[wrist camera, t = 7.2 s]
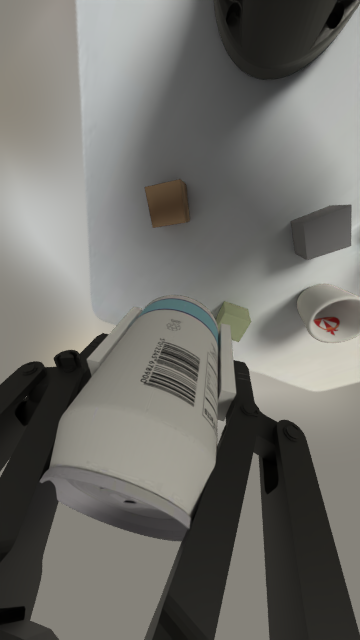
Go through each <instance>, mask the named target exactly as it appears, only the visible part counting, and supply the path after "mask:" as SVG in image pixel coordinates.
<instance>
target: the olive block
mask: <svg viewBox="0 0 360 640" xmlns="http://www.w3.org/2000/svg"><path fill="white" fill-rule="evenodd" d="M216 322H217V325H218V332H219V329H220V325H221V323H222V324H227V325H230V328H231V340H234V341H237V342H239V341H240V339H241V338H242V336H243V334H244V333H245V331H246V330H247V328H248V326H249V325H250V323H251V320H250V316H249V312H248V309H245V308H243V307H240V306H237V305H234V304H231V303H228V302H225V301H224V303H223V305H222V307H221V309H220V311H219V313H218V315H217V318H216Z"/></svg>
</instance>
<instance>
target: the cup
mask: <svg viewBox="0 0 360 640" xmlns="http://www.w3.org/2000/svg"><path fill="white" fill-rule="evenodd" d="M297 310H298V312H299V314H300V316H301V318H302V320H303V322H304V324H305V326H306V328H307V330H308V332H309V333H310V335H311V336H312V337H313V338H315V339H317V340H319V341H322V342H326V343H339V342H344V341H347V340H350V339H353V338H355V337H357V336H358V335H360V296H357V295H354V294H352V293H350V292H347V291H345V290H343V289H340V288H338V287H336V286H333V285H329V284H318V285H314V286H311V287H309V288H307V289H306V290H305V291H303V292H302V293H301V295H300V296H299V298H298V300H297Z"/></svg>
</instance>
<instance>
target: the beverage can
mask: <svg viewBox="0 0 360 640" xmlns="http://www.w3.org/2000/svg"><path fill="white" fill-rule="evenodd" d="M218 338H219V332H218V325H217V322H216V320H215V318H214V316H213V315H212V313H211V312H210V311H209V310H208V309H207V308H206V307H205V306H204V305H202V304H201V303H199V302H198V301H196V300H194V299H191V298H188V297H185V296H179V295H168V296H163V297H160V298H157V299H155V300H153V301H152V302H150V303H149V304H148V305H147V306H146V307H145V309H144V310H143V311H142V312H141V314H140V315H139V316H138V318H137V319H136V320H135V322H134V323H133V324H132V325H131V327H130V328H129V329H128V331H127V332H126V333H125V335H124V336H123V337H122V338H121V340H120V341H119V342H118V344H117V345H116V346H115V347H114V349H113V350H112V351H111V353H110V354H109V355H108V357H107V358H106V359H105V360H104V362H103V363H102V364H101V366H100V367H99V368H98V370H97V371H96V372H95V373H94V375H93V376H92V377H91V379H90V380H89V381H88V383H87V384H86V385H85V386H84V388H83V389H82V390H81V392H80V393H79V394H78V395H77V397H76V398H75V399H74V401H73V402H72V403H71V405H70V406H69V407H68V408H67V410H66V411H65V412H64V414H63V415H62V417H61V419H60V421H59V424H58V429H57V434H56V439H55V443H54V448H53V453H52V457H51V462H50V467H49V470H47V471H46V472H45V473H44V475H43V476H42V478H41V479H40V482H41V483H43V482H45V481H48V480H50V481H51V482H52V483H53V484H54V485H55V488H56V493H57V500H58V501H59V502H61V503H63V504H64V505H66V506H68V507H70V508H72V509H74V510H76V511H78V512H80V513H82V514H84V515H87V516H89V517H92V518H94V519H96V520H99V521H101V522H104V523H106V524H109V525H112V526H115V527H118V528H120V529H124V530H127V531H130V532H133V533H137V534H140V535H144V536H148V537H153V538H157V539H163V540H170V541H182V540H183V538H184V536H185V534H186V532H187V529H188V530H190V528H191V525H192V522H193V517H194V515H195V512H196V510H197V507H198V505H199V502H200V499H201V497H202V494H203V492H204V489H205V487H206V484H207V481H208V479H209V476H210V474H211V472H212V470H213V469H214V466H215V463H216V456H217V415H218Z"/></svg>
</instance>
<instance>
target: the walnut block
mask: <svg viewBox="0 0 360 640" xmlns="http://www.w3.org/2000/svg"><path fill="white" fill-rule="evenodd" d="M145 191H146V196H147V201H148V206H149V211H150V216H151V221H152V226H153V228H155V227H161V226H167V225H173V224H179V223H185V222H188V221H190V217H189V207H188V198H187V188H186V184H185V183H184V182H183V181H182V180H180V179H179V180H175V181H170V182H166V183H161V184H157V185H152V186H148V187H145Z"/></svg>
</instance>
